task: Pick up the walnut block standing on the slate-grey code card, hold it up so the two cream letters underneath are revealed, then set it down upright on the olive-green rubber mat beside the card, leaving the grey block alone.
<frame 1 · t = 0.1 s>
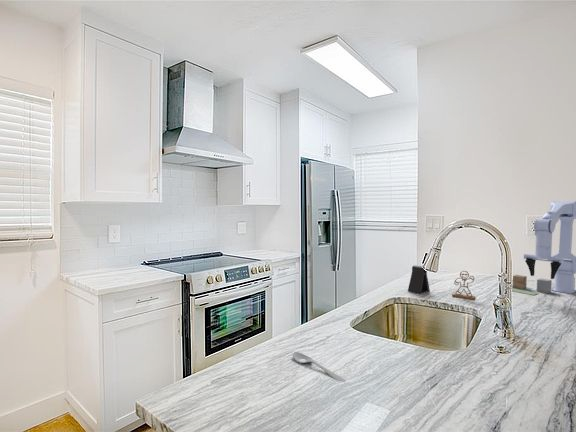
hand: (542, 277, 157), 10 cm above the countertop, tool pointing down, fingers open, 7 cm apart
code card: (519, 288, 179), on the countertop
phone stand: (418, 291, 170), on the countertop
rubber mat: (521, 292, 171), on the countertop
grey block: (543, 292, 172), on the countertop
walnut block: (519, 287, 179), resting on code card
spoon: (321, 372, 89), on the countertop
grey figurine: (463, 297, 160), on the countertop
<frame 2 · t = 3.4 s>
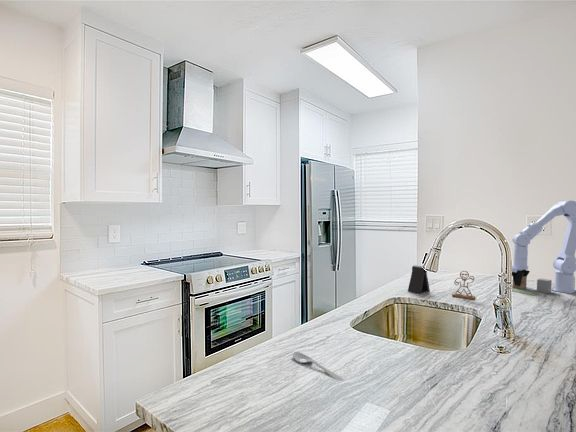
hand: (519, 285, 179), 2 cm above the countertop, tool pointing down, fingers closed on walnut block, 4 cm apart
walnut block: (519, 287, 179), resting on code card, touching gripper
everything else where it was.
when the fingers open (3 cm above the countertop, at t = 8.6 s): walnut block stays where it is, resting on rubber mat.
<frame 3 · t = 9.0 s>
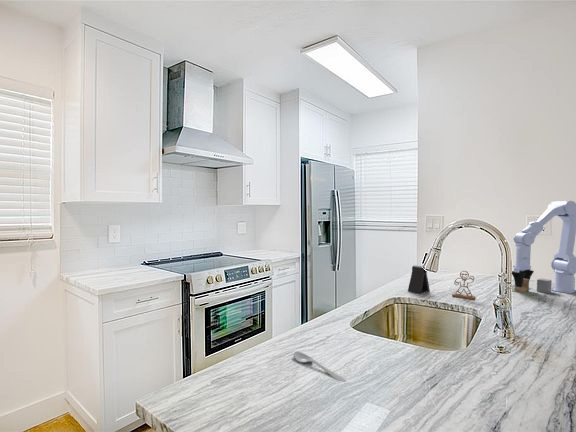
hand: (522, 285, 171), 3 cm above the countertop, tool pointing down, fingers open, 7 cm apart
walnut block: (521, 291, 171), resting on rubber mat
everything else where it was.
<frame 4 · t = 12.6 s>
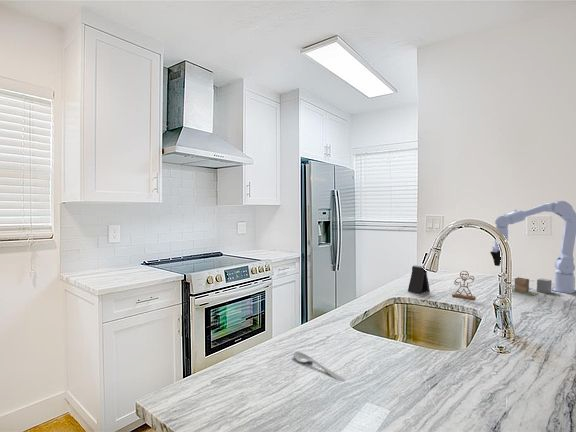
hand: (500, 265, 186), 10 cm above the countertop, tool pointing down, fingers open, 7 cm apart
nothing on the countertop moved.
at the end: walnut block inside the target area on the rubber mat (0.1 cm from its centre), point 0.4 cm above the rubber mat's base; walnut block tilted 0°; walnut block touching rubber mat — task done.
